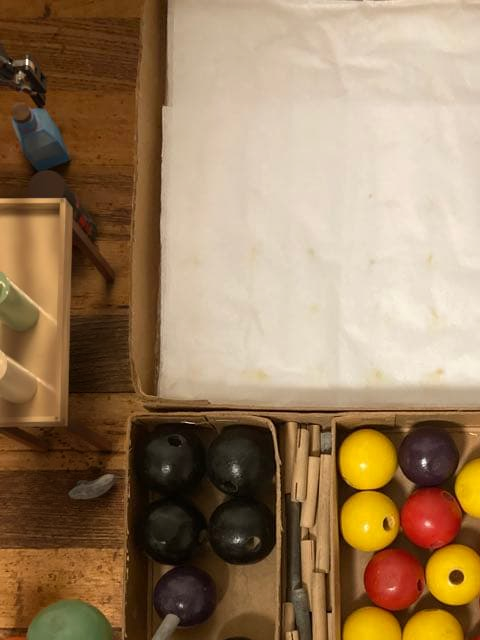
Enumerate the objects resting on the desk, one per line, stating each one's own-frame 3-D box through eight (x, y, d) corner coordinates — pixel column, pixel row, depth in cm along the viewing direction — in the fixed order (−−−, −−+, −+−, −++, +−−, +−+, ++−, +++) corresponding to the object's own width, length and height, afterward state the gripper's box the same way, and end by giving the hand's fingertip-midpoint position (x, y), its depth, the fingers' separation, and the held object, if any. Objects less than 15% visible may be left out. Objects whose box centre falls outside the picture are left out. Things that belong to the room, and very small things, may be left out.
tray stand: (34, 455, 147) (-38, 422, 122) (40, 268, 150) (-30, 198, 125) (115, 455, 147) (59, 421, 122) (118, 267, 150) (65, 197, 125)
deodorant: (60, 242, 150) (24, 201, 136) (67, 211, 151) (32, 166, 136) (93, 249, 150) (60, 208, 136) (100, 217, 151) (68, 173, 136)
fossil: (116, 471, 147) (107, 466, 142) (123, 489, 146) (114, 485, 142) (71, 488, 146) (60, 484, 141) (78, 507, 146) (67, 503, 141)
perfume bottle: (58, 129, 152) (30, 88, 141) (70, 160, 152) (43, 120, 140) (26, 141, 152) (-5, 101, 140) (38, 172, 152) (8, 133, 140)
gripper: (15, 11, 122) (59, 82, 139) (-83, 12, 122) (-27, 82, 138) (13, 60, 122) (58, 125, 138) (-86, 60, 122) (-29, 125, 138)
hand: (15, 103), depth 138 cm, fingers open, 8 cm apart
